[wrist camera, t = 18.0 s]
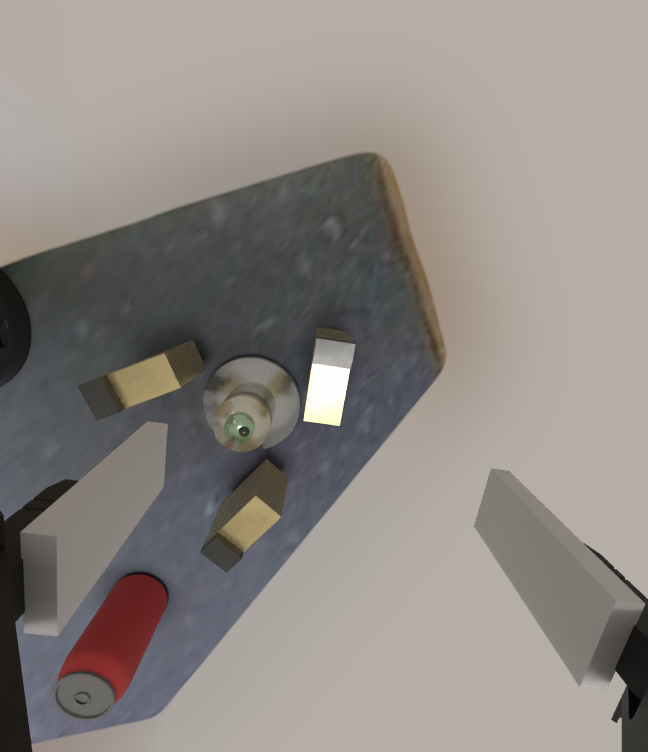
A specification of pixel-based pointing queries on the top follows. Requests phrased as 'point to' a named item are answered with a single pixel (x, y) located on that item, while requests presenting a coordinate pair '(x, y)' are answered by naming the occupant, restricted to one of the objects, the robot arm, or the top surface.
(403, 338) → the top surface
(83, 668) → the beer can
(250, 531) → the brass wedge block
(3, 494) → the top surface
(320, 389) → the brass angular block
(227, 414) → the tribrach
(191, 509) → the top surface
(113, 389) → the gold angular block
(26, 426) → the top surface
